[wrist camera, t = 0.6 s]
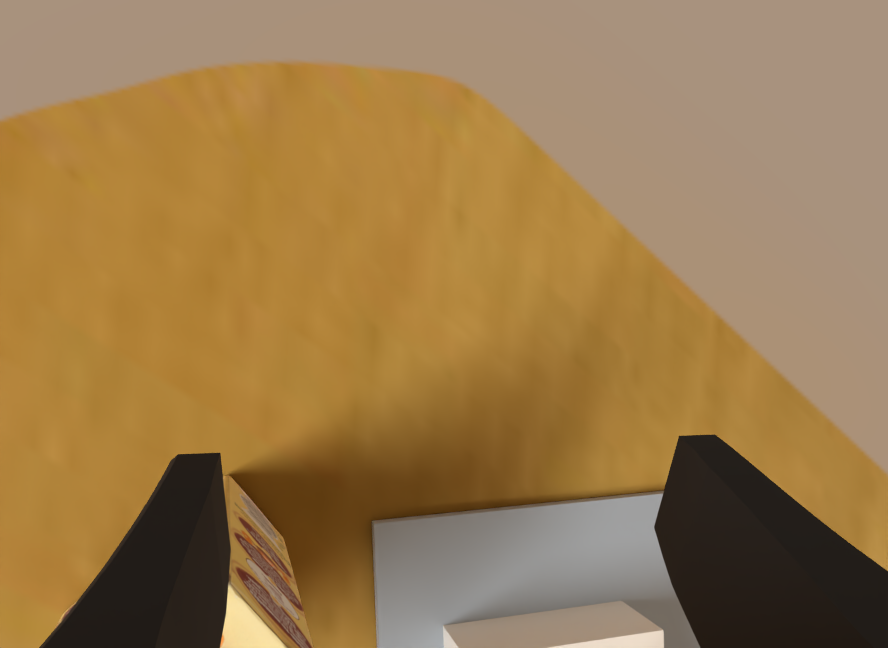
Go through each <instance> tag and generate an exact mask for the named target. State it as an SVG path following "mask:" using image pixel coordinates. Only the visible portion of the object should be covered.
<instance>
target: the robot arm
mask: <svg viewBox="0 0 888 648" xmlns="http://www.w3.org/2000/svg"><path fill="white" fill-rule="evenodd" d="M654 529H655V532H656V536H657V539H658V542H659V546H660V549H661V553H662V556H663V559H664V562H665V565H666V569H667V572H668V575H669V578H670V581H671V584H672V586H673V589H674V591H675V593H676V596H677V598H678V600H679V602H680V604H681V607H682V609H683V611H684V613H685V615H686V618H687V620H688V622H689V624H690V626H691V629H692V631H693V633H694V635H695V637H696V640H697V642H698V644H699V646H700V648H888V571H887V570H885V569H884V568H882V567H881V566H880V565H878V564H877V563H876V562H874V561H873V560H872V559H870V558H869V557H867V556H866V555H865V554H863V553H862V552H861V551H859V550H858V549H856V548H855V547H854V546H852V545H851V544H850V543H848V542H847V541H846V540H844V539H843V538H842V537H841V536H839V535H838V534H837V533H835V532H834V531H833V530H831V529H830V528H829V527H828V526H826V525H825V524H824V523H823V522H821V521H820V520H819V519H818V518H816V517H815V516H814V515H813V514H811V513H810V512H809V511H808V510H806V509H805V508H804V507H803V506H801V505H800V504H799V503H798V502H797V501H795V500H794V499H793V498H792V497H790V496H789V495H788V494H787V493H786V492H784V491H783V490H782V489H781V488H780V487H778V486H777V485H776V484H775V483H774V482H772V481H771V480H770V479H769V478H768V477H766V476H765V475H764V474H763V473H762V472H760V471H759V470H758V469H757V468H756V467H754V466H753V465H752V464H751V463H750V462H748V461H747V460H746V459H745V458H744V457H742V456H741V455H740V454H739V453H738V452H736V451H735V450H734V449H733V448H731V447H730V446H729V445H728V444H727V443H725V442H724V441H723V440H721V439H720V438H719V437H717V436H716V435H692V436H679V439H678V442H677V446H676V449H675V453H674V457H673V460H672V464H671V467H670V471H669V475H668V478H667V482H666V485H665V489H664V493H663V496H662V500H661V504H660V507H659V511H658V514H657V518H656V522H655V525H654ZM230 555H231V546H230V537H229V528H228V519H227V510H226V501H225V492H224V483H223V474H222V465H221V456H220V453H204V454H178V455H177V456H176V457H175V458H173V459H172V460H171V462H170V463H169V465H168V467H167V469H166V471H165V473H164V475H163V476H162V478H161V480H160V482H159V483H158V485H157V487H156V488H155V490H154V492H153V493H152V495H151V497H150V498H149V500H148V502H147V503H146V505H145V506H144V508H143V510H142V511H141V513H140V514H139V516H138V517H137V519H136V521H135V522H134V524H133V525H132V527H131V528H130V530H129V531H128V533H127V534H126V535H125V537H124V538H123V540H122V541H121V543H120V544H119V546H118V547H117V549H116V550H115V551H114V553H113V554H112V556H111V557H110V559H109V560H108V562H107V563H106V564H105V566H104V567H103V569H102V570H101V571H100V573H99V574H98V575H97V577H96V578H95V579H94V580H93V582H92V583H91V584H90V586H89V587H88V588H87V589H86V591H85V592H84V593H83V595H82V596H81V597H80V599H79V600H78V601H77V602H76V604H75V605H74V606H73V608H72V609H71V610H70V611H69V613H68V614H67V615H66V617H65V618H64V619H63V620H62V621H61V623H60V624H59V625H58V626H57V627H56V629H55V630H54V631H53V632H52V633H51V635H50V636H49V637H48V638H47V639H46V640H45V642H44V643H43V644H42V645H41V646H40V647H39V648H220V644H221V639H222V633H223V628H224V622H225V617H226V608H227V596H228V583H229V569H230Z"/></svg>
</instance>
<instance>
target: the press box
mask: <svg viewBox="0 0 888 648" xmlns="http://www.w3.org/2000/svg"><path fill="white" fill-rule="evenodd" d="M443 639H444V648H664V632H663V629H661V628H660V627H658V626H657V625H655V624H654V623H653V622H651V621H650V620H648V619H647V618H645V617H644V616H643V615H641V614H640V613H638V612H637V611H635V610H634V609H633V608H631V607H630V606H628V605H627V604H625V603H624V602H623V601H615V602H608V603H601V604H594V605H587V606H580V607H572V608H565V609H558V610H551V611H544V612H536V613H529V614H522V615H515V616H508V617H501V618H493V619H486V620H479V621H472V622H465V623H457V624H450V625H443Z"/></svg>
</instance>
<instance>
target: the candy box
mask: <svg viewBox="0 0 888 648" xmlns="http://www.w3.org/2000/svg"><path fill="white" fill-rule="evenodd" d="M223 483H224V492H225V501H226V510H227V519H228V528H229V537H230V546H231V555H230V569H229V583H228V596H227V608H226V617H225V622H224V628H223V633H222V639H221V644H220V648H314V647H313V643H312V640H311V637H310V633H309V630H308V626H307V622H306V618H305V614H304V610H303V607H302V603H301V599H300V595H299V591H298V588H297V584H296V581H295V578H294V574H293V569H292V566H291V562H290V559H289V555H288V552H287V548H286V545H285V541H284V538H283V537H282V536H281V534H280V533H279V532H278V531H277V530H276V529H275V528H274V526H273V525H272V524H271V523H270V522H269V520H268V519H267V518H266V517H265V516H264V514H263V513H262V512H261V511H260V510H259V508H258V507H257V506H256V505H255V504H254V503H253V501H252V500H251V499H250V498H249V497H248V496H247V494H246V493H245V492H244V491H243V490H242V489H241V487H240V486H239V485H238V484H237V483H236V482H235V481H234V480H233V478H232V477H230V476H229V475H226V476H224V477H223ZM75 604H76V603H74V604H73V605H72V606H71V607H70V608H69V609H67V610H66V611H65V612H64V613H63V615H62V616H61V619H60V620H59V622H58V624H57V626H58V625H59V624H60V623H61V621H62V620H63V619H64V618H65V617H66V615H67V614H68V613H69V611H70V610H71V609H72V608H73V606H74V605H75ZM57 626H56V627H57ZM55 629H56V628H55ZM55 629H54V630H55Z"/></svg>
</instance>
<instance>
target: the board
mask: <svg viewBox="0 0 888 648" xmlns="http://www.w3.org/2000/svg"><path fill="white" fill-rule="evenodd" d="M663 493H664V491H654V492H645V493H635V494H625V495H616V496H606V497H596V498H587V499H577V500H567V501H558V502H548V503H538V504H529V505H519V506H509V507H500V508H490V509H480V510H471V511H461V512H451V513H442V514H432V515H422V516H413V517H403V518H393V519H384V520H374V521H372V540H373V564H374V588H375V612H376V636H377V648H444V639H443V625H450V624H457V623H465V622H472V621H479V620H486V619H493V618H501V617H508V616H515V615H522V614H529V613H536V612H544V611H551V610H558V609H565V608H572V607H580V606H587V605H594V604H601V603H608V602H615V601H623V602H624V603H625V604H627V605H628V606H630V607H631V608H633V609H634V610H635V611H637V612H638V613H640V614H641V615H643V616H644V617H645V618H647V619H648V620H650V621H651V622H653V623H654V624H655V625H657V626H658V627H660V628H661V629H663V632H664V648H700V646H699V644H698V642H697V640H696V637H695V635H694V633H693V631H692V629H691V626H690V624H689V622H688V620H687V618H686V615H685V613H684V611H683V609H682V607H681V604H680V602H679V600H678V598H677V596H676V593H675V591H674V589H673V586H672V584H671V581H670V578H669V575H668V572H667V569H666V565H665V562H664V559H663V556H662V553H661V549H660V546H659V542H658V539H657V536H656V532H655V529H654V525H655V522H656V518H657V514H658V511H659V507H660V504H661V500H662V496H663Z"/></svg>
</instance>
